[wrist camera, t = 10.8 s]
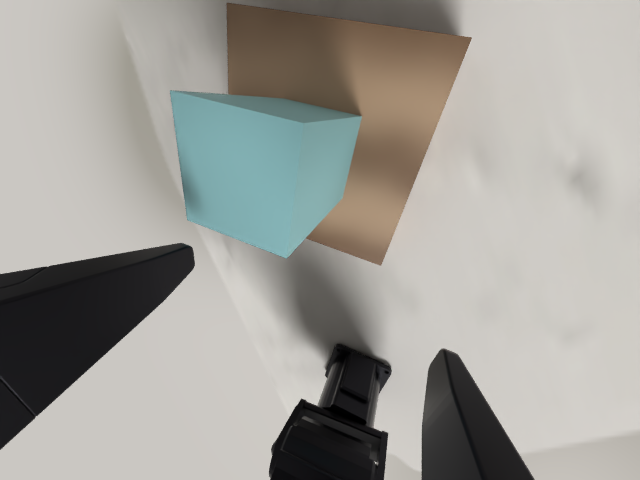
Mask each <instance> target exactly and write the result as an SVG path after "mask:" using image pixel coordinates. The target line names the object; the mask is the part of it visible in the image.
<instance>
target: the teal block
mask: <svg viewBox="0 0 640 480" xmlns="http://www.w3.org/2000/svg"><path fill="white" fill-rule="evenodd" d="M170 94H171V102H172V109H173V117H174V124H175V132H176V139H177V147H178V154H179V162H180V169H181V177H182V184H183V192H184V199H185V207H186V214H187V220H189V221H191V222H194V223H196V224H199V225H201V226H204V227H207V228H209V229H212V230H214V231H217V232H219V233H222V234H225V235H227V236H230V237H232V238H235V239H237V240H240V241H243V242H245V243H248V244H250V245H253V246H255V247H258V248H261V249H263V250H266V251H268V252H271V253H273V254H276V255H279V256H281V257H284V258H286V259H287V258H288V257H289V256H290V254H291V253H292V252H293V251H294V250H295V249H296V248H297V247H298V246H299V245H300V244H301V243H302V241H303V240H304V239H305V238H306V237H307V236H308V235H309V234H310V233H311V232H312V231H313V230H314V228H315V227H316V226H317V225H318V224H319V223H320V222H321V221H322V220H323V219H324V218H325V217H326V215H327V214H328V213H329V212H330V211H331V210H332V209H333V208H334V207H335V206H336V205H337V204H338V202H339V201H340V200H341V199H342V198H343V194H344V190H345V186H346V181H347V177H348V173H349V169H350V165H351V160H352V156H353V152H354V148H355V144H356V139H357V135H358V131H359V127H360V123H361V119H362V116H359V115H354V114H350V113H346V112H341V111H337V110H332V109H328V108H323V107H319V106H315V105H310V104H306V103H301V102H297V101H292V100H288V99H284V98H270V97H256V96H242V95H228V94H214V93H200V92H186V91H172V90H170Z"/></svg>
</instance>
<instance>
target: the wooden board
mask: <svg viewBox="0 0 640 480" xmlns="http://www.w3.org/2000/svg"><path fill="white" fill-rule="evenodd" d="M471 39H472V38H471V37H464V36H457V35H450V34H443V33H435V32H428V31H421V30H414V29H407V28H400V27H393V26H386V25H379V24H372V23H365V22H358V21H351V20H344V19H337V18H330V17H323V16H316V15H309V14H302V13H295V12H288V11H281V10H274V9H267V8H260V7H253V6H246V5H239V4H232V3H227V43H228V92H229V95H242V96H256V97H270V98H284V99H288V100H292V101H297V102H301V103H306V104H310V105H315V106H319V107H323V108H328V109H332V110H337V111H341V112H346V113H350V114H354V115H359V116H362V119H361V123H360V127H359V131H358V135H357V139H356V144H355V148H354V152H353V156H352V160H351V165H350V169H349V173H348V177H347V181H346V186H345V190H344V194H343V198H342V199H341V200H340V201H339V202H338V204H337V205H336V206H335V207H334V208H333V209H332V210H331V211H330V212H329V213H328V214H327V215H326V217H325V218H324V219H323V220H322V221H321V222H320V223H319V224H318V225H317V226H316V227H315V228H314V230H313V231H312V232H311V233H310V234H309V235H308V236H307V237H306V238H307V239H309V240H312V241H315V242H318V243H320V244H323V245H326V246H329V247H331V248H334V249H337V250H340V251H342V252H345V253H348V254H351V255H353V256H356V257H359V258H361V259H364V260H367V261H370V262H372V263H375V264H378V265H381V264H382V262H383V259H384V257H385V254H386V252H387V249H388V247H389V244H390V242H391V239H392V237H393V234H394V232H395V229H396V227H397V224H398V222H399V219H400V217H401V214H402V212H403V209H404V207H405V204H406V202H407V199H408V197H409V194H410V192H411V189H412V187H413V184H414V182H415V179H416V177H417V174H418V172H419V169H420V167H421V164H422V162H423V159H424V156H425V154H426V151H427V149H428V146H429V144H430V141H431V139H432V136H433V134H434V131H435V129H436V126H437V124H438V121H439V119H440V116H441V114H442V111H443V109H444V106H445V104H446V101H447V99H448V96H449V94H450V91H451V89H452V86H453V84H454V81H455V79H456V76H457V74H458V71H459V69H460V66H461V64H462V61H463V59H464V56H465V54H466V51H467V49H468V46H469V44H470V41H471Z"/></svg>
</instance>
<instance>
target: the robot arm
mask: <svg viewBox="0 0 640 480" xmlns="http://www.w3.org/2000/svg"><path fill="white" fill-rule="evenodd" d="M194 266H195V261H194V253H193V248H192V247H191V246H189V245H186V244H184V243H177V244H172V245H166V246H160V247H155V248H149V249H143V250H138V251H132V252H126V253H121V254H115V255H109V256H103V257H98V258H92V259H86V260H81V261H75V262H70V263H64V264H58V265H52V266H49V267H41V268H35V269H29V270H23V271H17V272H11V273H5V274H0V450H1V449H2V448H3V447H4V446H5V445H6V444H7V443H8V442H9V441H10V440H12V439H13V438H14V437H15V436H16V435H17V434H18V433H19V432H20V431H21V430H22V429H23V428H25V427H26V426H27V425H28V424H29V423H30V422H31V421H32V420H33V419H35V417H36V416H38V415H39V414H40V413H41V412H42V411H43V410H44V409H45V408H46V407H48V406H49V405H50V404H51V403H52V402H53V401H54V400H55V399H56V398H57V397H59V396H60V395H61V394H62V393H63V392H64V391H65V390H66V389H67V388H69V387H70V386H71V385H72V384H73V383H74V382H75V381H76V380H77V379H78V378H79V377H81V376H82V375H83V374H84V373H85V372H86V371H87V370H88V369H89V368H91V367H92V366H93V365H94V364H95V363H96V362H97V361H98V360H99V359H100V358H102V357H103V356H104V355H105V354H106V353H107V352H108V351H109V350H110V349H112V347H114V346H115V345H116V344H117V343H118V342H119V341H120V340H121V339H123V337H125V336H126V335H127V334H128V333H129V332H130V331H131V330H132V329H134V328H135V327H136V326H137V325H138V324H139V323H140V322H141V321H142V320H143V319H144V318H145V317H147V316H148V315H149V314H150V313H151V312H152V311H153V310H154V309H156V307H158V306H159V305H160V304H161V303H162V302H163V301H164V300H165V299H166V298H167V297H168V296H169V295H170V294H171V293H172V292H173V291H174V290H175V288H176V287H177V286H178V285H179V284H180V283H181V282H182V281H183V279H185V278H186V277H187V275H188V274H189V273H190V272H191V271H192V270H193V268H194ZM391 371H392V370H391V368H390V367H389V366H386V365H384V364H382V363H380V362H378V361H375V360H373V359H371V358H369V357H367V356H364V355H362V354H360V353H358V352H356V351H353V350H351V349H349V348H347V347H345V346H343V345H340V344H336V345H335V348H334V351H333V354H332V357H331V359H330V362H329V365H328V368H327V371H326V374H325V376H326V377H327V381H326V383H325V386H324V389H323V392H322V395H321V397H320V400H319V403H318V406H316V405H314V404H311V403H309V402H307V401H306V400H304V399H301V400H300V402H299V404H298V405H297V406H296V407H295V409H294V410H293V412H292V414H291V416H290V417H289V419H288V421H287V423H286V424H285V426H284V428H283V430H282V431H281V433H280V435H279V437H278V438H277V440H276V441H275V442H274V444H273V445H272V449H271V452H272V459H271V463H270V468H269V477H270V478H271V479H270V480H384V472H385V461H386V450H387V440H388V433H387V432H385V431H382V432H381V431H379V430H376V429H374V428H373V426H374V420H375V414H376V407H377V401H378V395H379V393H380V391H381V390H382V388H383V386H384V385H385V383H386V382H387V380H388V378H389V377H390V375H391ZM374 461H375V462H377V463H376V464H375V462H374ZM422 480H535V479H534V478H533V476H532V475H531V473H530V471H529V470H528V468H527V466H526V465H525V463H524V461H523V460H522V458H521V457H520V455H519V453H518V452H517V450H516V448H515V447H514V445H513V443H512V442H511V440H510V439H509V437H508V435H507V434H506V432H505V430H504V429H503V427H502V425H501V424H500V422H499V421H498V419H497V417H496V416H495V414H494V412H493V411H492V409H491V408H490V406H489V404H488V403H487V401H486V399H485V398H484V396H483V394H482V393H481V391H480V390H479V388H478V386H477V385H476V383H475V381H474V380H473V378H472V376H471V375H470V373H469V372H468V370H467V368H466V367H465V365H464V363H463V362H462V360H461V358H460V357H459V356H458V355H457V354H456V353H454V352H452V351H449V350H447V349H441V350H440V351H439V352H438V354H437V355H436V357H435V358H434V360H433V361H432V363H431V364H430V366H429V370H428V377H427V386H426V395H425V403H424V412H423V422H422Z"/></svg>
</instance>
